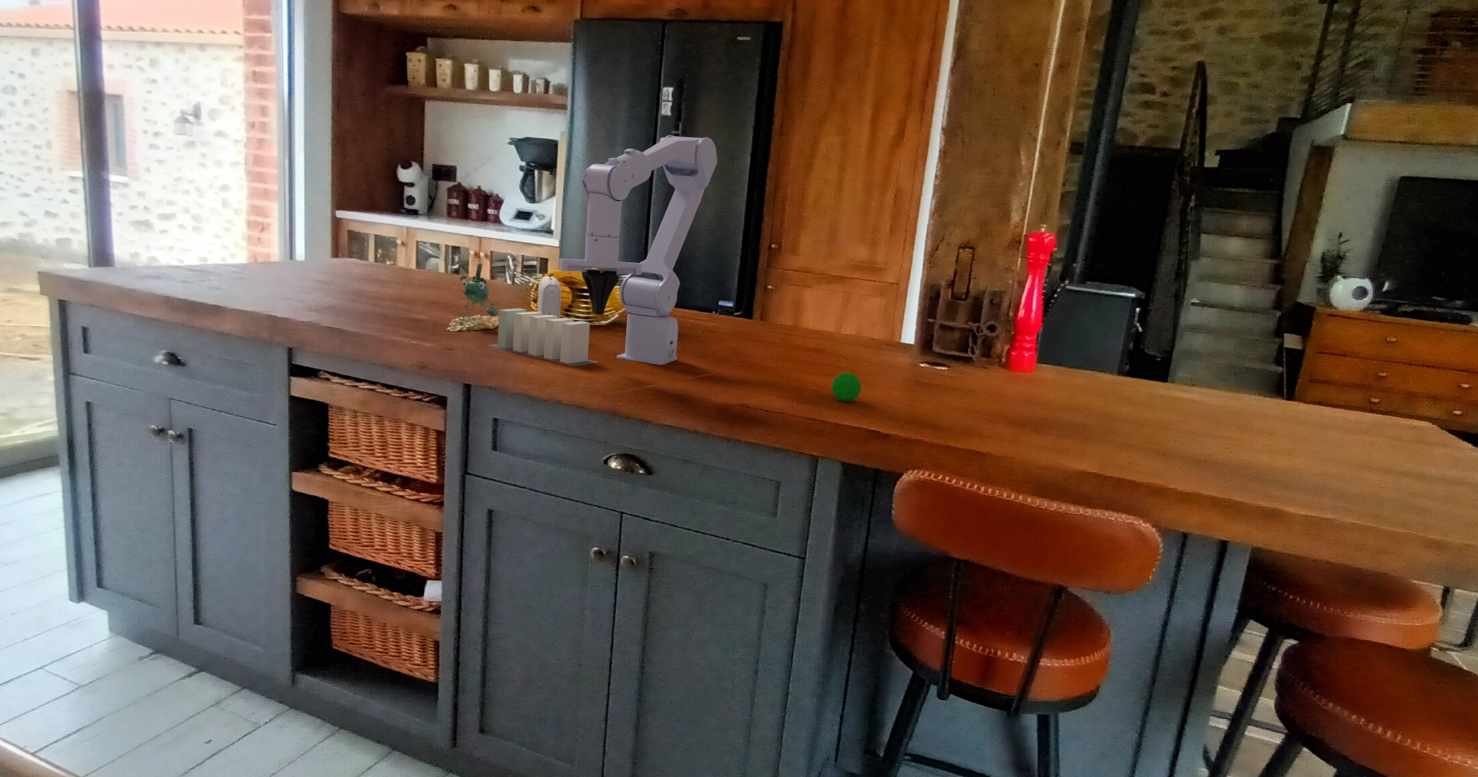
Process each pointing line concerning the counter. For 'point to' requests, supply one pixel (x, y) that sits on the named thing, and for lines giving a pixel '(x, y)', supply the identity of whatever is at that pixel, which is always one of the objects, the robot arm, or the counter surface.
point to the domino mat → (545, 358)
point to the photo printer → (549, 297)
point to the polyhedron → (846, 387)
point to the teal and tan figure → (476, 294)
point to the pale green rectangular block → (507, 327)
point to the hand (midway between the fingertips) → (597, 313)
